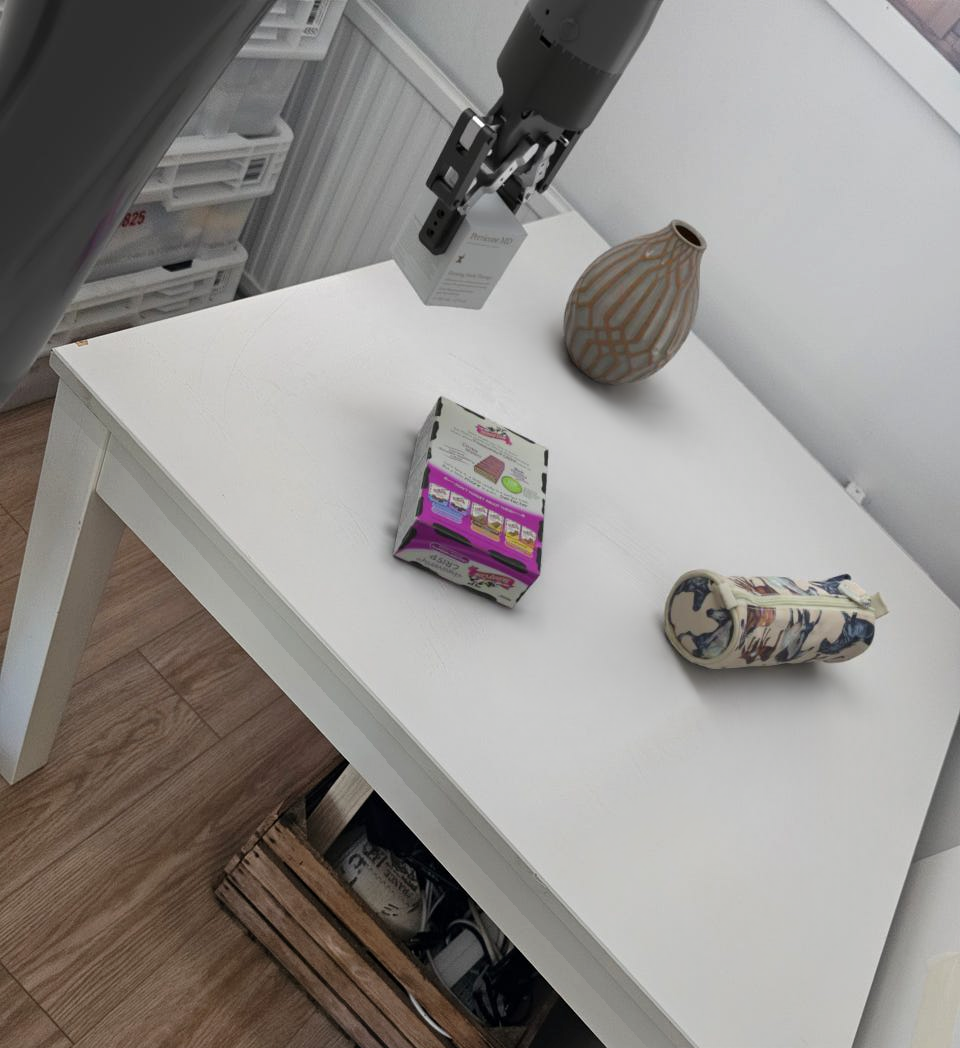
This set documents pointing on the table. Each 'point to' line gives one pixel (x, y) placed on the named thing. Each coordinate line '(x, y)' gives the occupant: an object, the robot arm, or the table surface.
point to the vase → (635, 305)
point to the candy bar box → (475, 504)
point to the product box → (459, 252)
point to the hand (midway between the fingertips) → (458, 240)
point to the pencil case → (769, 619)
